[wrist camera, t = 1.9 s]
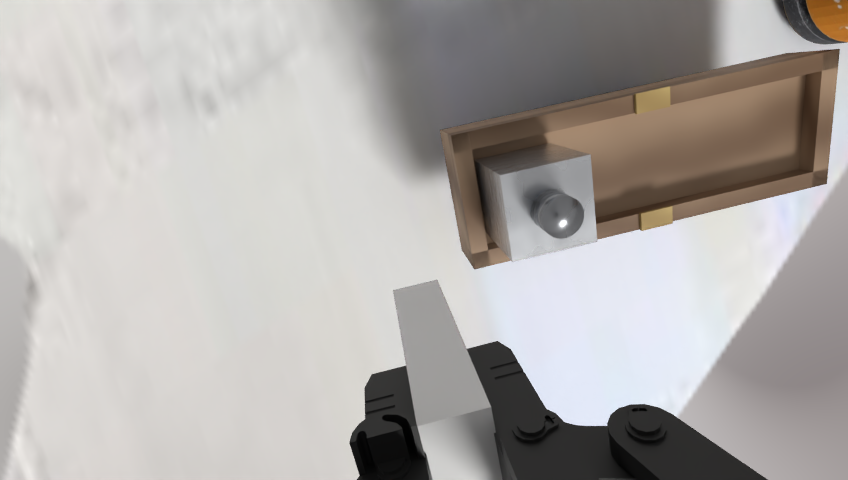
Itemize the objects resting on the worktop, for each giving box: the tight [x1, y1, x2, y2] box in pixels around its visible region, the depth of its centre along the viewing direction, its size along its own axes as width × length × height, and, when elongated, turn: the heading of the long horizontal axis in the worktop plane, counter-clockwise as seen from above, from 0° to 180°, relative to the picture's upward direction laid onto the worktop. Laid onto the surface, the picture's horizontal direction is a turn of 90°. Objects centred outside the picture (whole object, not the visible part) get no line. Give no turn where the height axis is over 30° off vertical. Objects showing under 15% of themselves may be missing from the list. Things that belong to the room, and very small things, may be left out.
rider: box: [474, 143, 597, 262], centre depth 24 cm, size 4×4×6 cm
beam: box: [440, 49, 840, 269], centre depth 30 cm, size 8×23×8 cm, turn 101°
